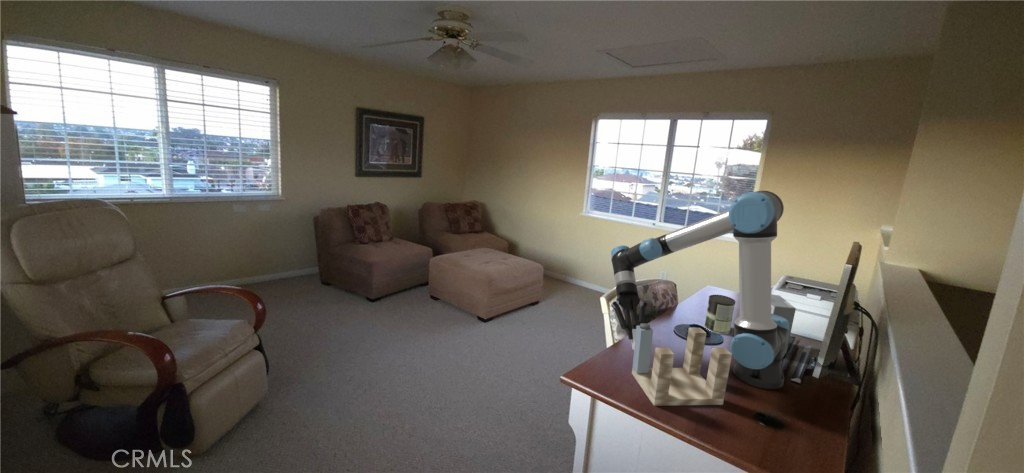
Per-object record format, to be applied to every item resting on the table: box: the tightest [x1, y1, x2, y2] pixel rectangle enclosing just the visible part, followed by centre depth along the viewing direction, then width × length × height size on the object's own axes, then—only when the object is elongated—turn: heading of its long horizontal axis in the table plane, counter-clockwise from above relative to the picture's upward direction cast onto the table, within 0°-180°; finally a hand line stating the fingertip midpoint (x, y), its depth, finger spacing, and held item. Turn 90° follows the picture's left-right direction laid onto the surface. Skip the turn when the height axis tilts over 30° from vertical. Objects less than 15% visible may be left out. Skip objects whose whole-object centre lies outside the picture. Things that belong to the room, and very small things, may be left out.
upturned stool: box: [631, 327, 733, 407], centre depth 135 cm, size 22×18×17 cm
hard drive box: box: [771, 293, 797, 354], centre depth 167 cm, size 16×8×20 cm, turn 168°
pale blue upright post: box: [632, 322, 654, 373], centre depth 140 cm, size 4×4×16 cm
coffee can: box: [704, 294, 736, 335], centre depth 182 cm, size 10×10×14 cm
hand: (636, 348), depth 144 cm, fingers closed
